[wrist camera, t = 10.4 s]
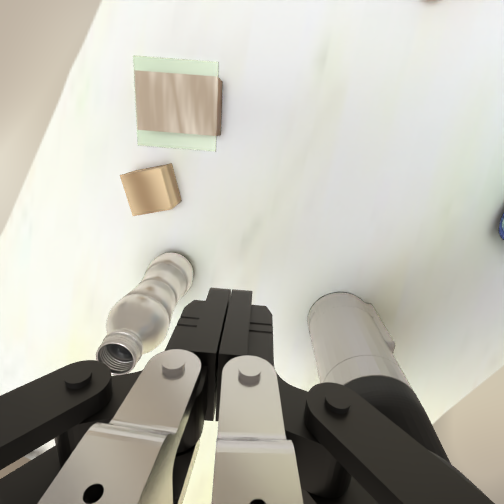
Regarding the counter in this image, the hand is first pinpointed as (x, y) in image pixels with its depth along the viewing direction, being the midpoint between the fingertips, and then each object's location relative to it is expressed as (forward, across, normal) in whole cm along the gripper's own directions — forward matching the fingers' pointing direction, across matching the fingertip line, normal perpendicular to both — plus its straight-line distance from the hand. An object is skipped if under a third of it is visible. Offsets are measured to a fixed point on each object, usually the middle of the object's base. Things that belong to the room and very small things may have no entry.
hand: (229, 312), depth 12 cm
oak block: (+33, +13, +2) cm, 36 cm away
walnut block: (+31, +5, -8) cm, 32 cm away
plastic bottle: (+33, +11, +14) cm, 38 cm away
